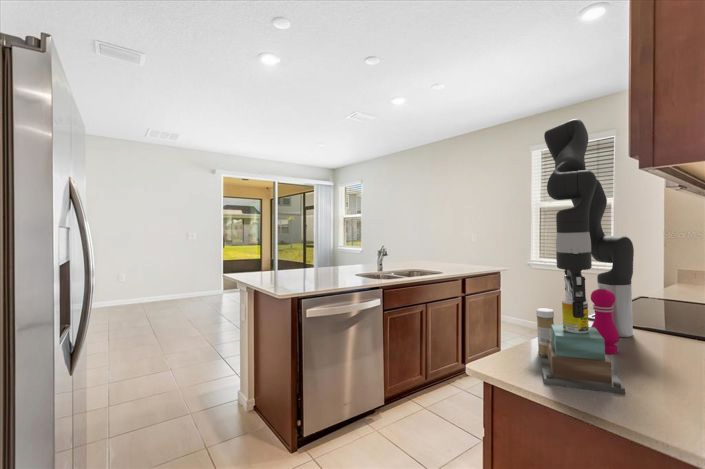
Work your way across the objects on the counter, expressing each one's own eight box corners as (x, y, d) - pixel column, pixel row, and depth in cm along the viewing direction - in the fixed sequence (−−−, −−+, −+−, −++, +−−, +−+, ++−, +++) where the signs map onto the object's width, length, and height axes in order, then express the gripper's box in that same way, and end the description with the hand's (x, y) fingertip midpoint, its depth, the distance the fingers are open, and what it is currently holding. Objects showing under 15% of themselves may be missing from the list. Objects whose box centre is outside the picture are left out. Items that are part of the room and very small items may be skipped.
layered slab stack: (539, 359, 99) (538, 320, 99) (607, 366, 92) (606, 325, 92) (544, 383, 84) (543, 338, 84) (625, 394, 78) (623, 345, 77)
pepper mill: (605, 356, 99) (603, 287, 98) (583, 347, 106) (581, 283, 105) (626, 353, 100) (624, 285, 100) (603, 344, 107) (601, 281, 107)
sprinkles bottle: (558, 354, 101) (556, 309, 101) (550, 358, 99) (548, 312, 99) (542, 350, 105) (541, 306, 105) (534, 354, 103) (533, 309, 102)
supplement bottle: (583, 336, 84) (582, 294, 84) (559, 331, 89) (557, 291, 88) (592, 331, 88) (591, 291, 87) (568, 326, 92) (567, 288, 92)
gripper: (553, 248, 95) (555, 306, 96) (559, 252, 83) (562, 319, 83) (585, 247, 92) (587, 307, 93) (597, 252, 79) (599, 322, 80)
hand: (575, 313), depth 88 cm, fingers open, 8 cm apart
